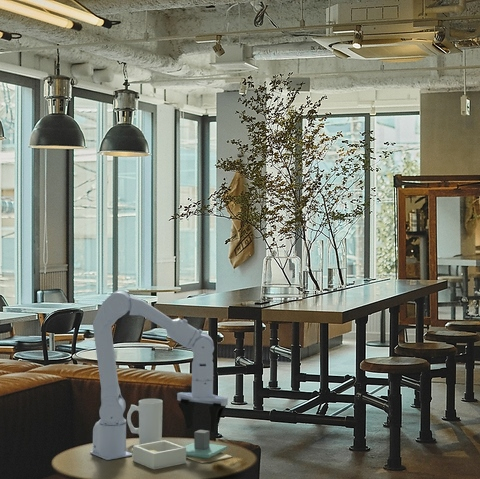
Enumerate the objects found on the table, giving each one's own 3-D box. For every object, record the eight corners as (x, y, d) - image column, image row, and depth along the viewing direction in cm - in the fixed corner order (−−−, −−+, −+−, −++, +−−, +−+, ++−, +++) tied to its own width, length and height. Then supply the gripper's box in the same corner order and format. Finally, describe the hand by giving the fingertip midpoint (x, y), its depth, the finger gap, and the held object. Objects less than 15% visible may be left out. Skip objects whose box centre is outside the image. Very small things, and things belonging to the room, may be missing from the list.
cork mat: (172, 452, 248) (172, 451, 248) (201, 446, 254) (201, 445, 254) (202, 463, 237) (202, 462, 237) (232, 457, 243) (232, 456, 243)
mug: (163, 440, 261) (163, 398, 261) (161, 446, 255) (161, 403, 254) (128, 440, 261) (128, 398, 261) (125, 446, 255) (125, 403, 254)
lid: (176, 455, 243) (176, 433, 243) (195, 447, 252) (195, 425, 252) (209, 460, 239) (209, 437, 239) (226, 452, 248) (227, 429, 248)
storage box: (133, 460, 239) (133, 445, 239) (164, 454, 245) (164, 440, 245) (153, 469, 231) (153, 453, 231) (186, 463, 238) (186, 447, 237)
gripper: (171, 378, 245) (171, 429, 245) (219, 384, 238) (218, 435, 239) (185, 375, 251) (184, 424, 251) (231, 380, 244) (230, 430, 245)
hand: (201, 429), depth 245 cm, fingers open, 7 cm apart
